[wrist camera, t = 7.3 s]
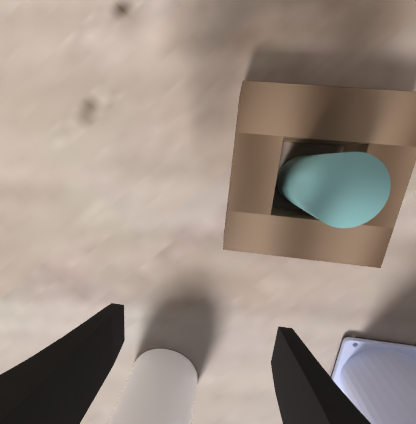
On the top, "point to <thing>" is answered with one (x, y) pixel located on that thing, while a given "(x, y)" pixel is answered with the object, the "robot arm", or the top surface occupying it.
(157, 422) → the pill bottle
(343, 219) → the dowel
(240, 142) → the socket block
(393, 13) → the top surface
